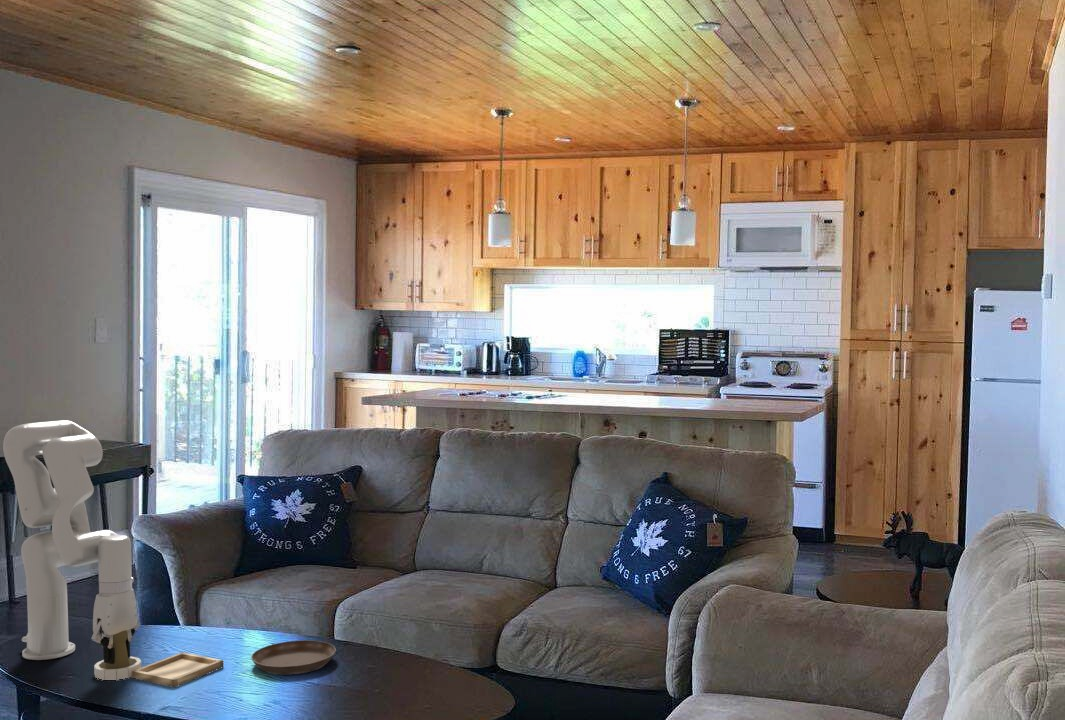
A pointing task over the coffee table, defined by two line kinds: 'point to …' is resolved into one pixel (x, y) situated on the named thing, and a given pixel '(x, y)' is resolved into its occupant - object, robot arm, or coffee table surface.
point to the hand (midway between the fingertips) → (116, 659)
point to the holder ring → (116, 670)
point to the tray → (177, 669)
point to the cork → (119, 651)
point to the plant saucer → (293, 657)
